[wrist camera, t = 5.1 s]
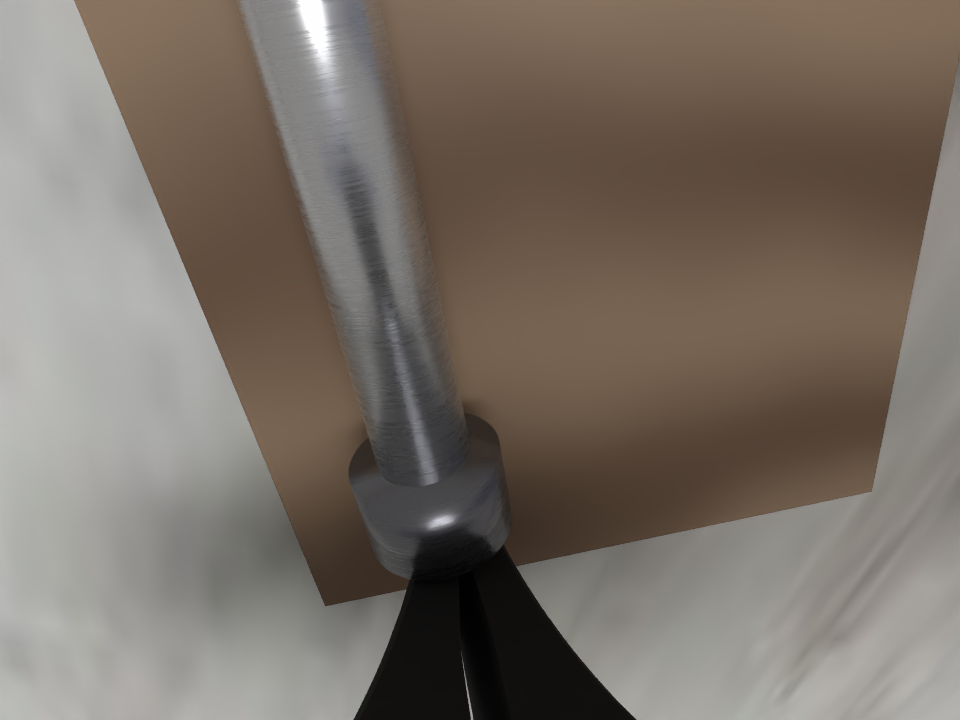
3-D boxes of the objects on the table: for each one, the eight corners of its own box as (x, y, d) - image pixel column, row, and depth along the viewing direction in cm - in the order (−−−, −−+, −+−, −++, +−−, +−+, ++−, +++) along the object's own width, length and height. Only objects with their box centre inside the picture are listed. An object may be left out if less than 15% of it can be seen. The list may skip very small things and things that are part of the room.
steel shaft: (500, 464, 13) (524, 562, 10) (373, 491, 12) (368, 595, 10) (226, -1072, 5) (83, -2010, 3) (-107, -1030, 5) (-549, -1963, 3)
